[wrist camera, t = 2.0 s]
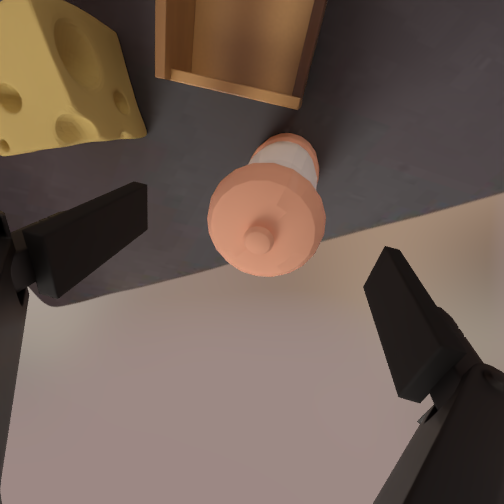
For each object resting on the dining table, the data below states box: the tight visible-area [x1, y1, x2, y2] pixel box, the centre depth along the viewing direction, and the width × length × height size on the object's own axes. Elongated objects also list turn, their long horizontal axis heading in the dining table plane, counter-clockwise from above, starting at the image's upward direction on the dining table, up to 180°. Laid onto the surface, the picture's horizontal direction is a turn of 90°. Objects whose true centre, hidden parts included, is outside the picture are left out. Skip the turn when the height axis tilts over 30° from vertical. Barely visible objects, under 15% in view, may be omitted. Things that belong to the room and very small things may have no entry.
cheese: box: [0, 0, 147, 156], centre depth 25 cm, size 10×11×10 cm
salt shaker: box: [207, 133, 326, 277], centre depth 22 cm, size 7×7×19 cm
